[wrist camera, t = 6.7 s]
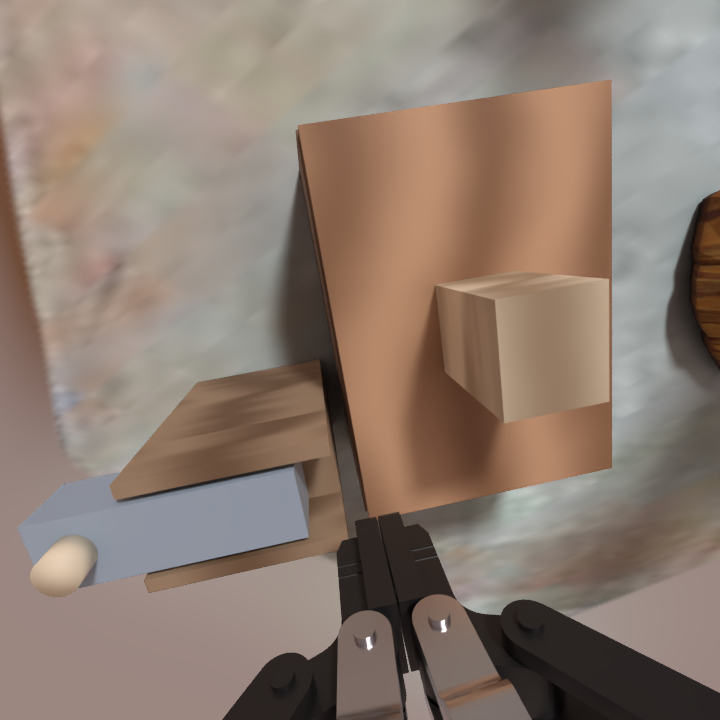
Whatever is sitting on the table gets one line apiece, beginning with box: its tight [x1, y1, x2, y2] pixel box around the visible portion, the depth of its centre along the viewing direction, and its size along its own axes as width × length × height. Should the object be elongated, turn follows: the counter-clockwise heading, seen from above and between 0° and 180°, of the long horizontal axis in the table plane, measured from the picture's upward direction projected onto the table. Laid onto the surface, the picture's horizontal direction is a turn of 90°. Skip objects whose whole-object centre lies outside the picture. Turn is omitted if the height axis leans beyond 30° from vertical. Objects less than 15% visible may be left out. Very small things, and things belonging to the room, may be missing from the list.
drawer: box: [17, 462, 309, 597], centre depth 17 cm, size 10×3×4 cm, turn 99°
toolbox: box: [109, 130, 368, 593], centre depth 21 cm, size 22×18×12 cm
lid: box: [298, 80, 612, 520], centre depth 16 cm, size 13×18×7 cm
